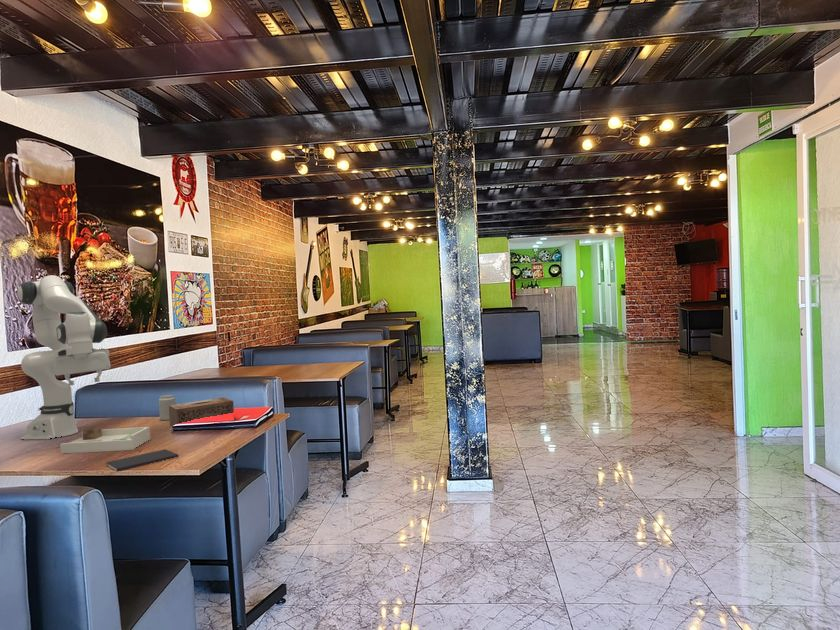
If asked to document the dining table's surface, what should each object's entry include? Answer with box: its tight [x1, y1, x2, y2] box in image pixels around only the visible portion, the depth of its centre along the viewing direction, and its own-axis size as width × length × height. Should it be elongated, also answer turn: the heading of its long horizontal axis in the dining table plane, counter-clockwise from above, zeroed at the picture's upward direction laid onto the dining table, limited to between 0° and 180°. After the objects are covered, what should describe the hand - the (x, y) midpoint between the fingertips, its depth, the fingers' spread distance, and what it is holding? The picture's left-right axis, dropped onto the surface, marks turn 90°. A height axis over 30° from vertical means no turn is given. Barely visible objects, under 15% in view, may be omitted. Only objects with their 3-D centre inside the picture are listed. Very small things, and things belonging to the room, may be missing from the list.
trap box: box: [59, 426, 151, 454], centre depth 234 cm, size 28×16×6 cm, turn 92°
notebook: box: [105, 449, 179, 472], centre depth 209 cm, size 13×2×21 cm
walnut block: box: [81, 426, 102, 440], centre depth 237 cm, size 5×5×4 cm
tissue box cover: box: [169, 396, 235, 427], centre depth 271 cm, size 26×14×10 cm, turn 127°
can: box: [158, 394, 176, 422], centre depth 284 cm, size 8×8×12 cm
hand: (84, 383), depth 233 cm, fingers open, 8 cm apart
